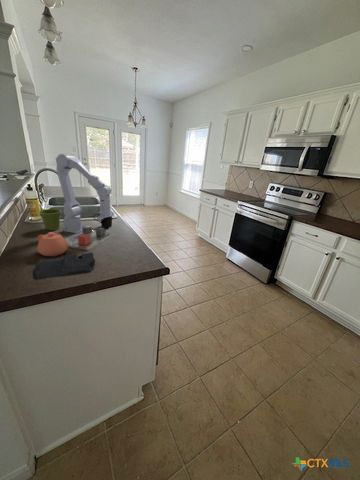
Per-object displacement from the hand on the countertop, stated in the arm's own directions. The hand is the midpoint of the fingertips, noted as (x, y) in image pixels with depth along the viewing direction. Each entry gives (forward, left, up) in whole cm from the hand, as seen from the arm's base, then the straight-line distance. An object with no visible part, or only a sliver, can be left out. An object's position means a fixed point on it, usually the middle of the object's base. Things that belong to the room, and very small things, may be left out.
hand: (106, 229), depth 122 cm
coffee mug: (-10, +14, -4) cm, 18 cm away
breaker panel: (-4, -12, -3) cm, 13 cm away
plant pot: (-34, -5, -4) cm, 35 cm away
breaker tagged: (0, -6, -2) cm, 6 cm away
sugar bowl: (-8, -32, -4) cm, 34 cm away
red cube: (0, -20, -2) cm, 20 cm away
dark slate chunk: (+7, -41, -4) cm, 42 cm away
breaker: (-9, -6, -2) cm, 11 cm away
